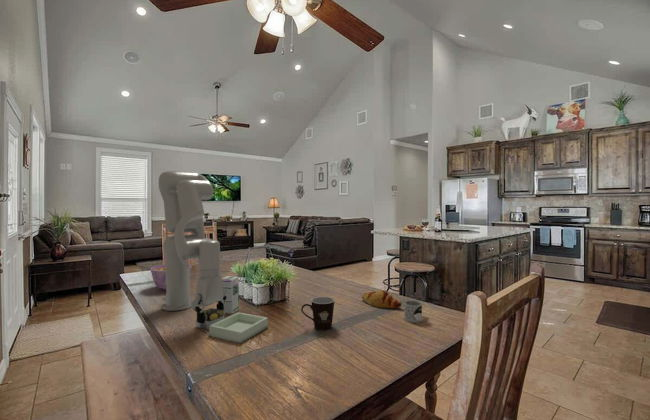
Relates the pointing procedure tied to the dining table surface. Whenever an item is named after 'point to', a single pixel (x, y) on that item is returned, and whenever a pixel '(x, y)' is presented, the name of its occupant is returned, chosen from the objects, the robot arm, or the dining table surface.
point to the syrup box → (231, 294)
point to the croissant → (381, 299)
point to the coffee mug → (321, 312)
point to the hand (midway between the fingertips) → (210, 318)
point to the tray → (238, 327)
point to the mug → (413, 311)
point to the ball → (213, 316)
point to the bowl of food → (160, 276)
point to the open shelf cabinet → (207, 318)
